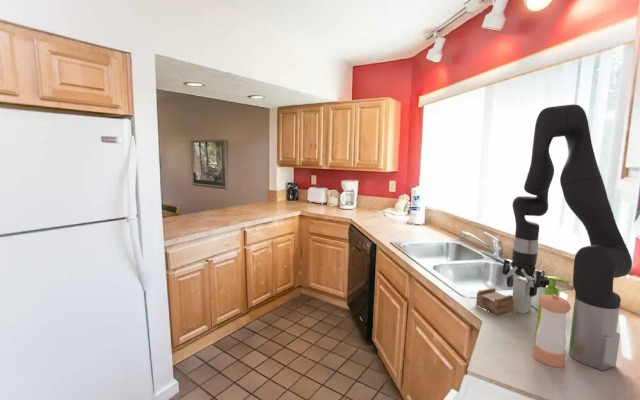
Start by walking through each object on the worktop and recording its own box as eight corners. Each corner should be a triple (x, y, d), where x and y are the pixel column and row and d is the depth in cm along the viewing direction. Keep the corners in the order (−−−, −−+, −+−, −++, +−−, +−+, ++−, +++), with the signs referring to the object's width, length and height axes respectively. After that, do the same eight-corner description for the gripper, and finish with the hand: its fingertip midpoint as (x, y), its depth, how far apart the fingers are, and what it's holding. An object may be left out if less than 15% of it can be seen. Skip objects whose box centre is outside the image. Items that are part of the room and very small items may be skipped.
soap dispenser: (563, 345, 92) (570, 283, 89) (535, 337, 96) (541, 277, 93) (562, 337, 97) (569, 277, 94) (536, 329, 101) (541, 272, 98)
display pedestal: (512, 312, 112) (513, 296, 111) (496, 316, 109) (497, 300, 109) (491, 302, 120) (492, 287, 120) (476, 305, 118) (477, 290, 117)
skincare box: (523, 314, 111) (526, 283, 109) (510, 309, 114) (513, 279, 113) (531, 310, 114) (534, 279, 112) (518, 305, 118) (520, 275, 116)
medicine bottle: (558, 311, 113) (561, 280, 112) (538, 311, 113) (541, 280, 112) (544, 302, 120) (547, 273, 119) (526, 302, 120) (528, 273, 119)
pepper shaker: (534, 347, 91) (540, 287, 89) (565, 357, 87) (572, 294, 84) (531, 359, 86) (538, 295, 83) (564, 370, 81) (572, 303, 78)
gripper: (552, 254, 106) (547, 297, 108) (513, 243, 119) (509, 282, 122) (537, 257, 103) (532, 301, 106) (500, 245, 117) (496, 285, 119)
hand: (520, 291), depth 114 cm, fingers open, 8 cm apart
